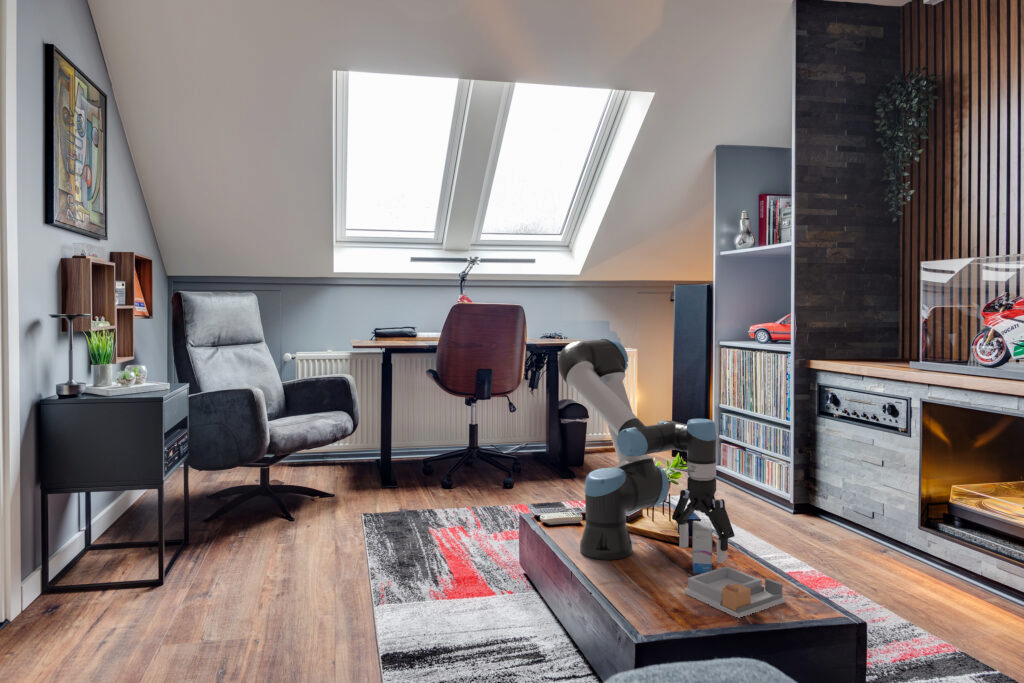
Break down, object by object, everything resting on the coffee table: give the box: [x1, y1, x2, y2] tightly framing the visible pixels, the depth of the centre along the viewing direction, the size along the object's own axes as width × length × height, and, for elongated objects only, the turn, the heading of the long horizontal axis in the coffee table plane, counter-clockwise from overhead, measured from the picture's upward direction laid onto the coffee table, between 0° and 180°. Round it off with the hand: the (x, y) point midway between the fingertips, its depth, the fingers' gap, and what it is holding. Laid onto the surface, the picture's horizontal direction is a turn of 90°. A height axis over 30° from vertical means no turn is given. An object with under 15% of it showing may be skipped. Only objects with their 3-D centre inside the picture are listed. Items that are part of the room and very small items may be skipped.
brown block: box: [722, 583, 751, 611], centre depth 168 cm, size 4×5×5 cm
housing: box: [684, 565, 786, 619], centre depth 175 cm, size 17×16×4 cm
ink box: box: [691, 520, 713, 574], centre depth 195 cm, size 9×5×12 cm, turn 168°
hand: (702, 554), depth 195 cm, fingers open, 13 cm apart
